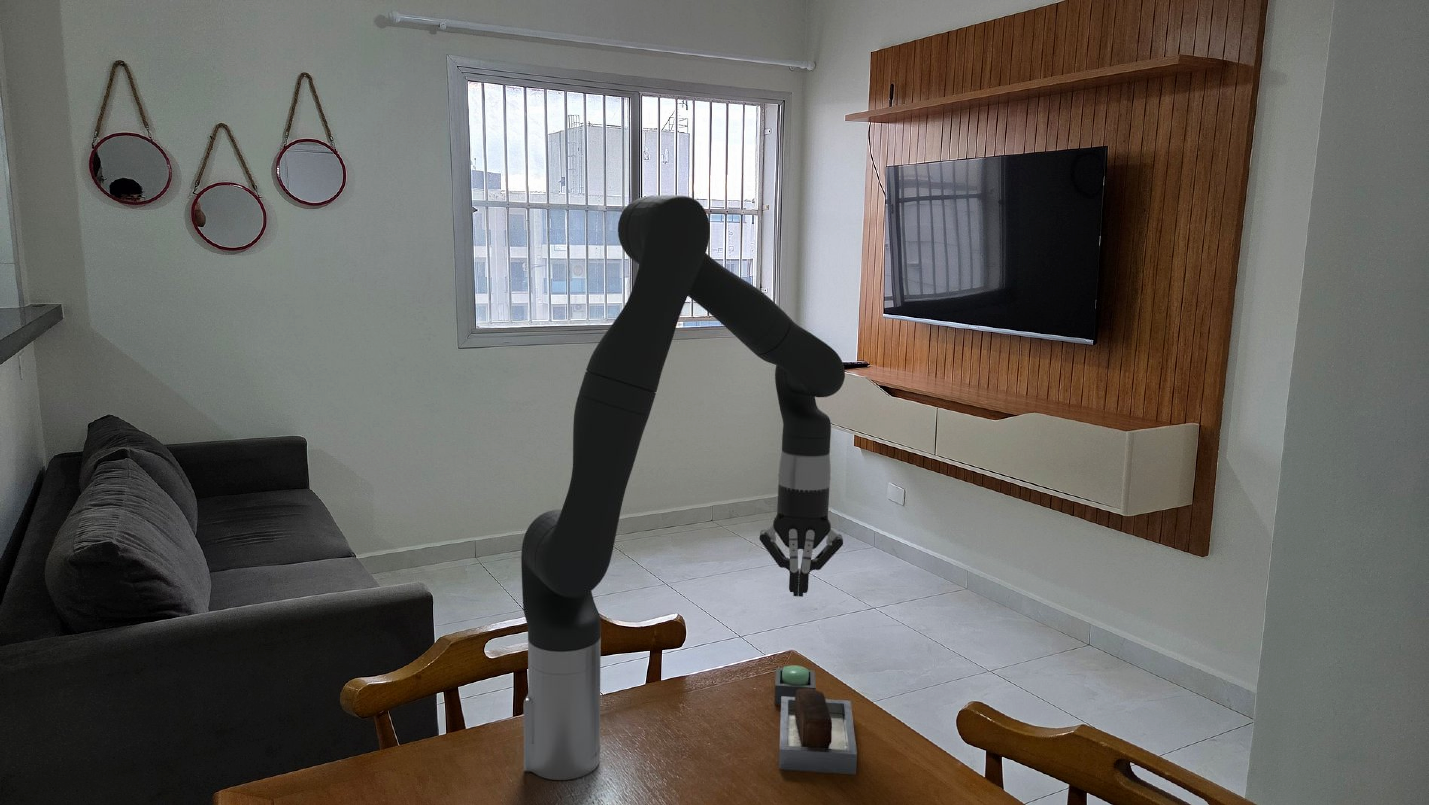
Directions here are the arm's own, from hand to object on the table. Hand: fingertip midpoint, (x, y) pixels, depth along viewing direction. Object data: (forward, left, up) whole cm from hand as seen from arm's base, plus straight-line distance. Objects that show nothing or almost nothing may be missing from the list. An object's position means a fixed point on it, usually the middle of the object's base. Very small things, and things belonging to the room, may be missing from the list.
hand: (798, 594), depth 141 cm
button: (0, 0, -15) cm, 15 cm away
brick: (+2, -13, -15) cm, 20 cm away
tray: (+3, -13, -16) cm, 21 cm away
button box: (0, 0, -16) cm, 16 cm away
